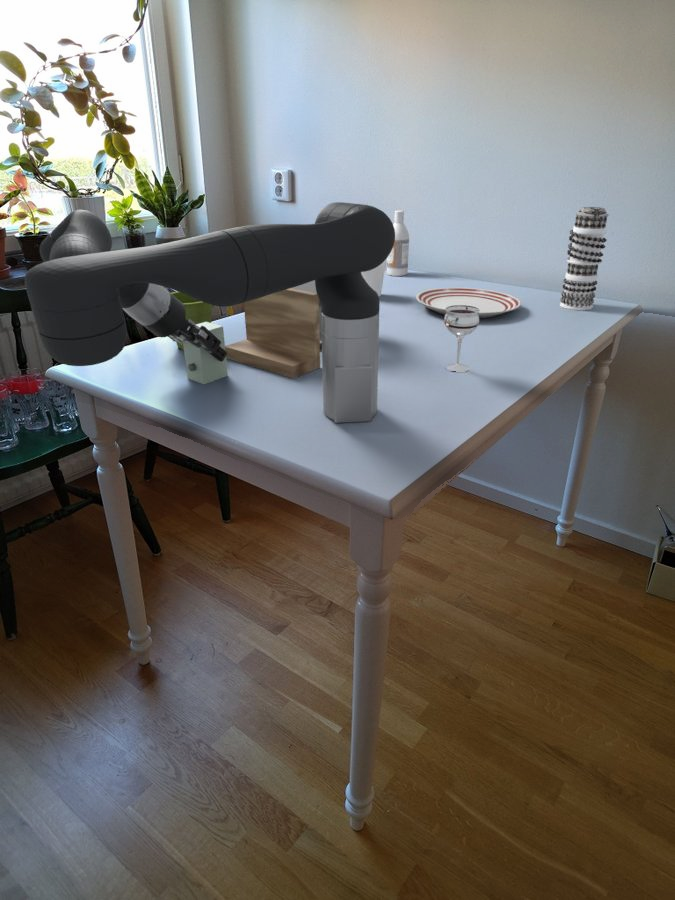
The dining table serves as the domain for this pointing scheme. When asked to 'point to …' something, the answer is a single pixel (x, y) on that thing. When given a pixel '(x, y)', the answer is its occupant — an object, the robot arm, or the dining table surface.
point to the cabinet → (205, 358)
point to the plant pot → (194, 310)
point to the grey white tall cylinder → (584, 258)
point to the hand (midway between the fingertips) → (212, 353)
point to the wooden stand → (281, 333)
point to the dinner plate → (469, 300)
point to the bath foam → (399, 248)
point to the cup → (375, 277)
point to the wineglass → (461, 327)
